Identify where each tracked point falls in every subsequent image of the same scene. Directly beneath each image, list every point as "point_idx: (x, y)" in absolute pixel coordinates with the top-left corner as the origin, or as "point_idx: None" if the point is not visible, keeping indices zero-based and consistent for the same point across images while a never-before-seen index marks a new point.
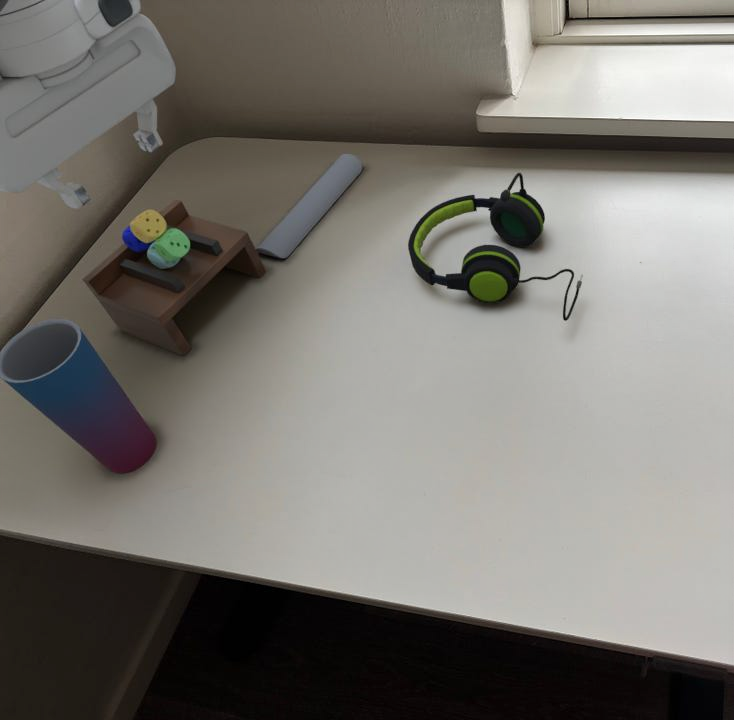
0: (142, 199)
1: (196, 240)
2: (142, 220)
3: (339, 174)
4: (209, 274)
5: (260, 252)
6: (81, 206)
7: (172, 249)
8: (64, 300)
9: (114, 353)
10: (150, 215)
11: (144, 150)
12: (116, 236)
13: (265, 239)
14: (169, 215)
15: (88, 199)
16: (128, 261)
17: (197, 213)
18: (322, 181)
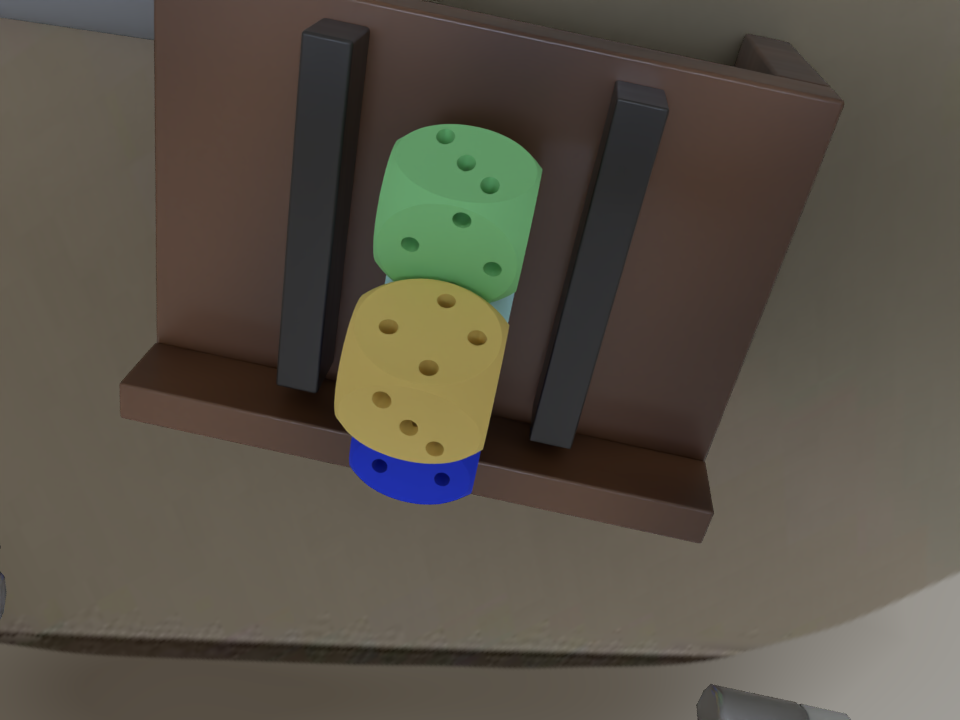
0: (95, 608)
1: (336, 158)
2: (452, 387)
3: None
4: (484, 18)
5: None
6: (812, 707)
7: (513, 175)
8: (565, 609)
9: (784, 337)
10: (392, 367)
11: (2, 592)
12: (270, 601)
13: (99, 1)
14: (219, 394)
15: (736, 696)
16: (545, 419)
17: (74, 407)
18: None
